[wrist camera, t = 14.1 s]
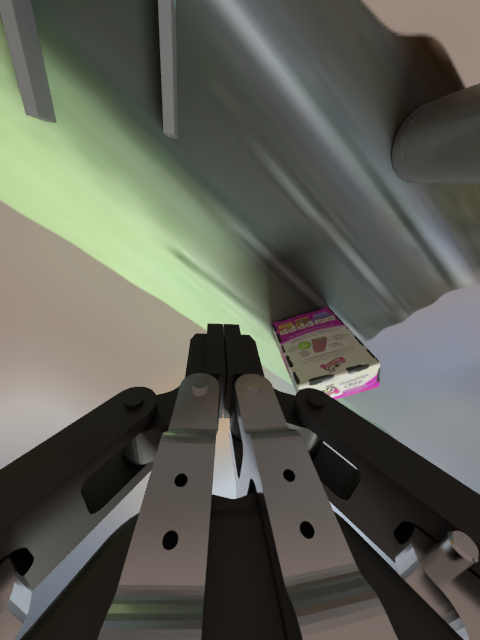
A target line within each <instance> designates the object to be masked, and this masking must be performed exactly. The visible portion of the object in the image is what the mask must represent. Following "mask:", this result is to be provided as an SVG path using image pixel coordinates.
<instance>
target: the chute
mask: <svg viewBox="0 0 480 640" xmlns="http://www.w3.org/2000/svg"><path fill="white" fill-rule="evenodd" d="M158 12H159V36H160V59H161V83H162V107H163V131H164V134H165V135H166V136H167V137H168V138H176V139H178V104H177V52H176V1H175V0H158ZM0 13H1V17H2V21H3V25H4V29H5V33H6V37H7V41H8V45H9V49H10V53H11V57H12V61H13V65H14V69H15V73H16V77H17V81H18V85H19V89H20V93H21V97H22V101H23V105H24V109H25V113H26V115H29V116H32V117H34V118H37V119H40V120H43V121H46V122H53V123H56V118H55V114H54V109H53V104H52V99H51V94H50V90H49V85H48V80H47V75H46V70H45V65H44V61H43V56H42V51H41V46H40V41H39V37H38V32H37V27H36V22H35V17H34V13H33V8H32V3H31V0H0Z"/></svg>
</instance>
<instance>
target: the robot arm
mask: <svg viewBox="0 0 480 640" xmlns="http://www.w3.org/2000/svg"><path fill="white" fill-rule="evenodd" d="M392 163H393V167H394V170H395V172H396V173H397V175H398V176H399V177H400V178H401V179H402V180H405V181H407V182H414V183H480V83H479V84H477V85H474V86H471V87H468V88H466V89H463V90H460V91H457V92H455V93H452V94H449V95H446V96H444V97H441V98H438V99H436V100H433V101H431V102H428V103H425V104H423V105H421V106H420V107H418V108H417V109H415V110H414V111H413V112H412V113H411V114H410V115H409V116H408V117H407V118H406V120H405V121H404V122H403V124H402V125H401V127H400V129H399V130H398V133H397V135H396V137H395V140H394V144H393V148H392ZM222 413H224V418H230V433H229V438H230V445H231V452H232V458H233V466H234V473H235V479H236V488H237V499H229V498H224V497H220V496H216V495H212V484H213V470H214V456H215V443H216V434H217V431H218V423H219V418H222ZM323 441H324V442H325V443H327V444H328V445H329V446H331V447H332V448H333V449H334V450H336V451H337V452H338V453H339V454H341V455H342V456H343V457H344V458H346V459H347V460H348V461H349V462H351V463H352V464H353V465H354V466H355V467H356V468H357V469H358V470H357V469H355V468H354V467H353V466H351V465H350V464H349V463H347V462H346V461H345V460H344V459H342V458H341V457H340V456H339V455H337V454H336V453H335V452H334V451H332V450H331V449H330V448H329V447H327V446H326V445H325V444H324V443H323ZM151 470H152V471H151ZM150 471H151V474H150V477H149V481H148V484H147V488H146V491H145V495H144V499H143V502H142V505H141V509H140V512H139V513H138V514H137V515H135V516H133V517H132V518H130V519H129V520H128V521H126V522H125V523H124V524H122V525H121V526H120V527H119V528H118V529H117V530H116V531H115V532H114V533H113V534H112V535H111V536H110V537H109V538H108V539H107V540H106V541H105V542H104V543H103V544H102V546H101V547H100V548H99V549H98V550H97V552H96V553H95V554H94V555H93V556H92V557H91V558H90V559H89V561H88V562H87V563H86V564H85V565H84V566H83V568H82V569H81V570H80V571H79V572H78V573H77V574H76V576H75V577H74V578H73V579H72V580H71V581H70V583H69V584H68V585H67V586H66V587H65V588H64V589H63V591H62V592H61V593H60V594H59V595H58V596H57V598H56V599H55V600H54V601H53V602H52V603H51V604H50V606H49V607H48V608H47V609H46V610H45V611H44V612H43V614H42V615H41V616H40V617H39V619H38V620H37V621H36V622H35V623H34V624H33V625H32V626H31V627H30V629H29V630H28V631H27V632H26V633H25V634H24V636H23V637H22V638H21V639H20V640H480V495H479V494H478V493H476V492H475V491H473V490H472V489H470V488H469V487H467V486H466V485H464V484H462V483H461V482H460V481H458V480H456V479H455V478H453V477H452V476H450V475H449V474H447V473H446V472H444V471H443V470H441V469H440V468H438V467H437V466H435V465H434V464H432V463H430V462H429V461H427V460H426V459H425V458H423V457H421V456H420V455H418V454H417V453H415V452H414V451H412V450H411V449H409V448H408V447H406V446H405V445H403V444H402V443H400V442H398V441H397V440H396V439H394V438H393V437H391V436H390V435H388V434H387V433H385V432H383V431H382V430H380V429H379V428H377V427H376V426H374V425H373V424H371V423H370V422H368V421H367V420H365V419H364V418H362V417H361V416H359V415H358V414H356V413H355V412H353V411H352V410H350V409H348V408H347V407H345V406H344V405H342V404H341V403H339V402H338V401H336V400H335V399H333V398H332V397H330V396H329V395H327V394H326V393H324V392H322V391H320V390H317V389H314V388H304V389H301V390H299V391H298V392H297V394H296V396H294V395H291V394H287V393H283V392H280V391H278V390H276V389H274V388H273V387H272V384H271V383H270V382H269V380H267V379H266V378H265V377H264V373H263V370H262V365H261V362H260V358H259V355H258V350H257V346H256V343H255V341H254V340H253V339H252V337H251V336H250V335H241V333H240V328H239V325H234V324H224V326H223V324H208V328H207V334H195V335H194V336H193V338H192V339H191V340H190V348H189V354H188V361H187V368H186V375H185V379H184V380H183V381H182V382H181V385H180V386H179V387H178V388H176V389H175V390H173V391H170V392H167V393H163V394H159V395H156V394H155V393H154V392H153V391H152V390H151V389H149V388H146V387H133V388H129V389H127V390H124V391H122V392H120V393H119V394H117V395H116V396H114V397H113V398H111V399H109V400H108V401H106V402H105V403H103V404H102V405H100V406H98V407H97V408H95V409H94V410H92V411H91V412H89V413H88V414H86V415H85V416H83V417H82V418H80V419H78V420H77V421H75V422H74V423H72V424H71V425H69V426H67V427H66V428H64V429H63V430H61V431H60V432H58V433H57V434H55V435H53V436H52V437H50V438H49V439H47V440H46V441H44V442H43V443H41V444H39V445H38V446H36V447H35V448H33V449H32V450H30V451H29V452H27V453H26V454H24V455H22V456H21V457H19V458H18V459H16V460H15V461H13V462H12V463H10V464H8V465H7V466H6V467H4V468H2V469H1V470H0V640H14V639H15V637H16V636H17V634H18V632H19V630H20V629H21V627H22V625H23V623H24V621H25V619H26V616H27V614H28V610H29V607H30V602H31V592H32V591H33V590H34V589H35V588H36V587H37V586H38V585H39V584H40V583H41V582H42V581H43V580H44V579H45V578H46V576H48V575H49V574H50V573H51V572H52V570H54V569H55V567H57V565H58V564H59V563H60V562H61V561H62V560H63V559H64V558H65V557H66V556H67V555H68V554H69V553H70V552H71V551H72V550H73V549H74V548H75V547H76V546H77V545H78V544H79V543H80V542H81V541H82V540H83V539H84V538H85V537H86V536H87V535H88V534H89V533H90V532H91V531H92V530H93V529H94V528H95V527H96V526H97V525H98V524H99V523H100V522H101V521H102V520H103V519H104V518H105V517H106V516H107V515H108V514H109V513H110V512H111V510H113V509H114V507H115V506H116V505H117V504H118V503H119V502H120V501H121V500H122V499H123V498H124V497H125V496H126V495H127V494H128V493H129V492H130V491H131V490H132V489H133V488H134V487H135V486H136V485H137V484H138V483H139V482H140V481H141V480H142V479H143V478H144V477H145V476H146V475H147V474H148V473H149V472H150ZM329 501H330V502H331V503H332V504H333V505H334V506H335V507H336V508H337V509H338V510H339V511H340V512H342V513H343V514H344V515H345V516H346V517H347V518H348V519H349V520H350V521H351V522H352V523H353V524H354V525H356V527H357V528H359V529H360V530H361V531H362V532H363V533H364V534H365V535H366V536H367V537H368V538H369V539H370V540H371V541H372V542H373V543H374V544H376V545H377V546H378V547H379V548H380V549H381V550H382V551H383V552H384V553H385V554H386V555H387V556H389V558H391V559H392V561H394V562H395V563H396V567H397V570H398V573H399V574H398V573H397V572H396V571H395V570H394V569H393V568H392V567H391V566H390V565H389V564H388V563H387V562H386V561H385V560H384V559H383V558H382V557H381V556H380V555H379V554H378V553H377V552H376V551H375V550H374V549H373V548H372V547H371V546H370V545H369V544H368V543H367V542H366V541H365V540H364V539H363V538H362V537H361V536H360V535H359V534H358V533H357V532H356V531H355V530H354V529H353V528H352V527H351V526H350V525H349V524H348V523H347V522H346V521H345V520H344V519H343V518H342V517H340V516H339V515H338V514H337V513H335V512H334V511H333V509H332V507H331V505H330V502H329Z"/></svg>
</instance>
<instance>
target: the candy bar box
mask: <svg viewBox="0 0 480 640" xmlns="http://www.w3.org/2000/svg"><path fill="white" fill-rule="evenodd" d="M271 324H272V328H273V332H274V336H275V340H276V344H277V346H278V349H279V351H280V354H281V356H282V359H283V361H284V363H285V366H286V368H287V371H288V373H289V375H290V378H291V380H292V383H293V385H294V388H295V390H296V392H298V391H299V390H301V389H304V388H314V389H317V390H320V391H322V392H324V393H326V394H327V395H329V396H330V397H332V398H333V399H338V398H342V397H345V396H349V395H353V394H356V393H360V392H363V391H367V390H371V389H374V388H378V387H379V383H380V378H379V372H380V362H379V361H378V360H377V358H376V357H375V356H374V355H373V354H372V353H371V352H370V351H369V350H368V349H367V348H366V347H365V346H364V345H363V344H362V342H361V341H360V340H359V339H358V338H357V337H356V336H355V335H354V334H353V333H352V332H351V331H350V330H349V329H348V327H347V326H346V325H345V324H344V323H343V322H342V321H341V320H340V319H339V318H338V317H337V315H336V314H335V313H334V312H333V311H332V310H331V309H330V308H329V307H324V308H321V309H317V310H314V311H311V312H307V313H304V314H301V315H297V316H294V317H291V318H287V319H284V320H280V321H277V322H273V323H271Z"/></svg>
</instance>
